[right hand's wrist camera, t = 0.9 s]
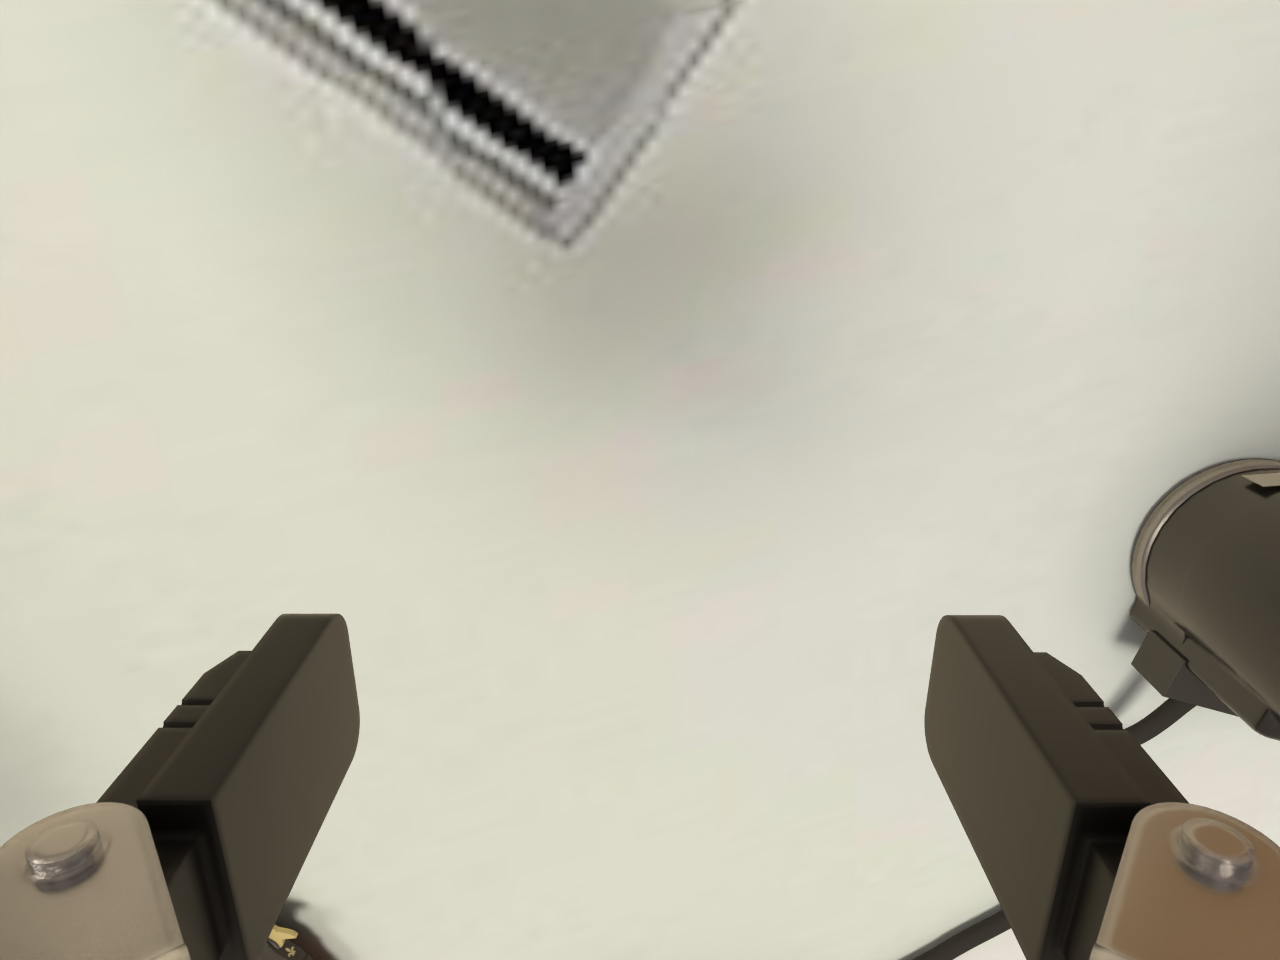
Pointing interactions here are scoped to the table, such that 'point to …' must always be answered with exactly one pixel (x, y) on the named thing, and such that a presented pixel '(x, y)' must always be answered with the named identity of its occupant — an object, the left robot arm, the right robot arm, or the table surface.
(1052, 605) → the table surface
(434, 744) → the table surface
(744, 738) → the table surface
